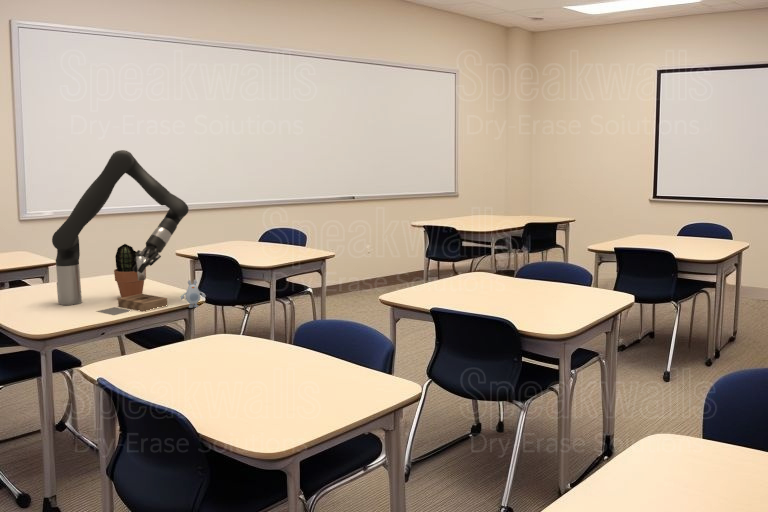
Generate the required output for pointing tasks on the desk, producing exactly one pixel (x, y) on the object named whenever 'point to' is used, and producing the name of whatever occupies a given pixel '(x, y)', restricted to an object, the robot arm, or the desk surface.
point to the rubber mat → (114, 311)
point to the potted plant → (127, 272)
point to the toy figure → (192, 294)
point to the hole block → (142, 302)
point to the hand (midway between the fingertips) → (136, 271)
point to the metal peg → (139, 261)
